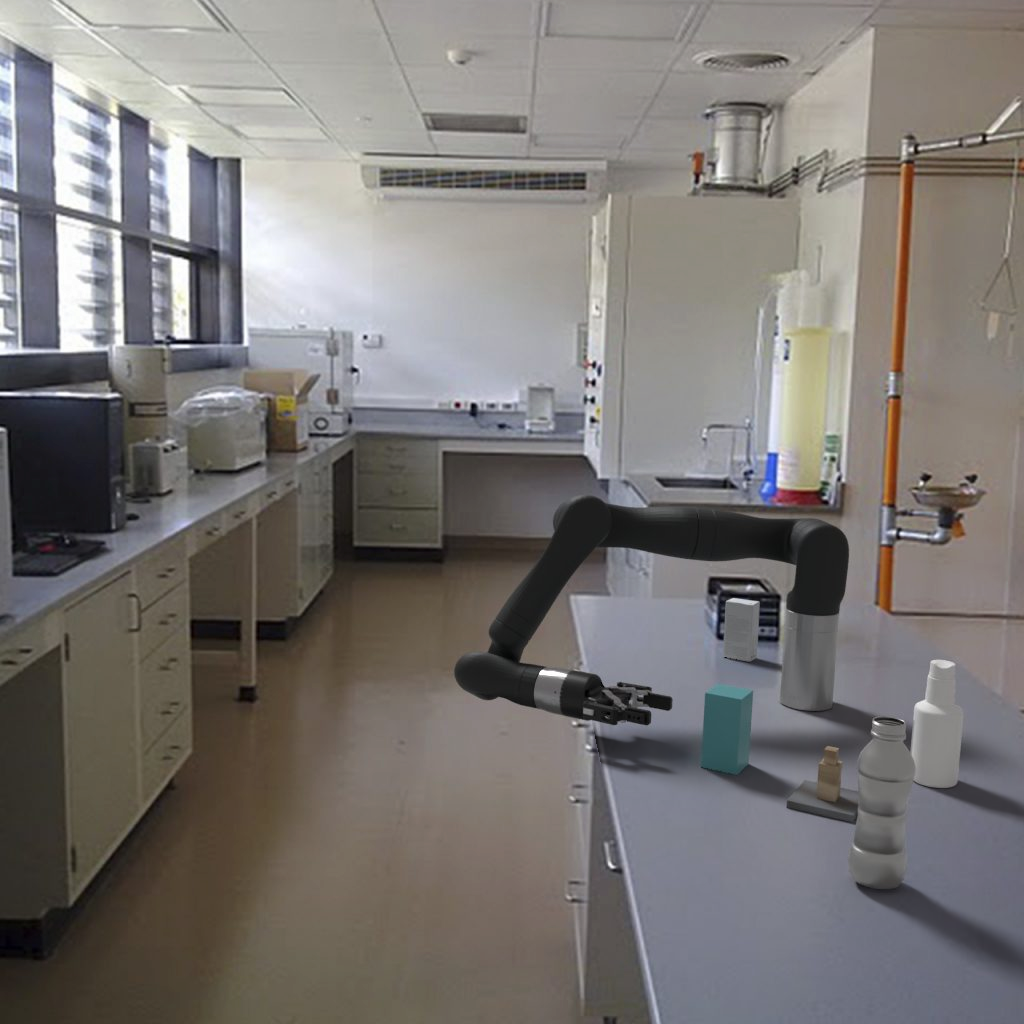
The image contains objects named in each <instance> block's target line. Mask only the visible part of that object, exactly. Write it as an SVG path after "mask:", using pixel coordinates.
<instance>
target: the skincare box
mask: <svg viewBox="0 0 1024 1024" xmlns="http://www.w3.org/2000/svg"><path fill="white" fill-rule="evenodd" d="M760 604H761V603H760V601H758V600H751V599H750V600H749V599H743V598H736V597H732V598H730V599H728V600H726V601H725V610H724V632H723V648H722V649H723V650H722V657H723V658H724V657H727V658H726V659H730V658H731V660H736V659H737V660H738V661H743V662H747V663H749V662H752V661H754V660H756V659H757V657H758V646H759V645H758V642H759V624H760V623H759V622H760V608H761V607H760V606H761V605H760Z"/></svg>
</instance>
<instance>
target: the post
mask: <svg viewBox="0 0 1024 1024" xmlns="http://www.w3.org/2000/svg"><path fill="white" fill-rule="evenodd" d="M839 752H840V748H839V747H836V746H835V747H834V746H830V745H827V746H826V747H825V748H824V750H823V758H822V759H821V760H820V762H819V763H818V770H817V782H815V781H813V780H812V781H811V780H807V779H804V780H803V781H802V783H801V784H800V785H798V787H797V788H796V789H795V790H794V792H793V793H792V794H791V795H790V797H788V799H786V808H789V809H791V810H795V811H801V812H805V813H810V814H814V815H817V816H824V817H827V818H833V819H836V820H840V821H846V822H847V823H848V822H849V823H854V821H855V820H856V819H857V816H858V806H859V805H858V790H855V789H850V788H845V787H844V788H843V787H841V783H842V773H843V761H841V760H839Z"/></svg>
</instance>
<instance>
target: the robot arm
mask: <svg viewBox="0 0 1024 1024" xmlns="http://www.w3.org/2000/svg"><path fill="white" fill-rule="evenodd" d="M552 526H553V527H552V528H553V534H552V535H551V538H550V540H549V542H548V544H547V546H546V547H545V549H544V551H543V552H542V554H541V555H540V557H539V558H538V560H537V561H536V562H535V564H534V566H533V567H532V568H531V569H530V570H529V572H528V573H527V575H525V577H524V578H523V579H522V581H520V583H519V584H518V585H517V586H516V587H515V588H514V591H512V593H511V594H510V596H509V597H508V598H507V600H506V601H505V603H504V604H503V606H502V607H501V609H500V610H499V612H497V615H496V616H495V619H493V621H492V622H491V624H490V626H489V629H488V636H489V638H490V641H491V643H490V645H489V647H488V650H487V652H485V651H478V650H477V651H475V650H474V651H470V652H467V653H465V654H463V655H462V656H460V657H459V659H458V660H457V661H456V663H455V666H454V670H453V673H454V674H453V675H454V679H455V681H456V684H457V685H459V687H460V688H461V689H462V690H464V691H465V692H466V693H469V694H471V695H473V696H474V697H477V698H478V699H481V700H483V701H493V700H495V699H497V698H502V699H505V700H508V701H510V702H511V703H514V704H517V705H519V706H523V707H528V708H533V709H537V710H541V711H544V712H546V713H550V714H554V715H559V716H564V717H568V718H572V719H578V720H581V721H587V722H588V721H595V722H599V723H601V724H602V723H603V724H607V725H612V726H617V725H618V723H621V724H624V723H633V724H638V725H641V726H649V725H650V724H651V723H652V711H651V710H648V709H643V708H651V709H656V710H660V711H661V710H662V711H666V712H667V711H668V712H669V711H671V710H672V708H673V698H672V696H670V695H666V694H665V695H664V694H658V693H653V691H652V690H653V687H652V686H645V685H640V684H635V683H628V682H623V681H619V682H616V685H609V686H607V687H605V685H604V683H603V680H602V678H601V676H599V675H598V674H595V673H590V672H585V671H580V670H574V669H569V668H564V667H563V668H562V667H552V666H544V665H539V664H533V663H526V662H521V659H522V655H523V653H524V650H525V648H526V646H527V645H528V643H530V641H531V639H532V638H533V636H534V635H535V633H537V632H536V631H537V630H538V629H539V627H540V626H541V624H542V622H543V621H544V619H545V618H546V616H547V614H548V613H549V611H550V609H551V608H552V607H553V605H554V603H555V602H556V600H557V599H558V597H559V595H560V594H561V591H562V590H563V589H564V588H565V585H566V584H567V583H568V582H569V580H570V579H571V577H572V576H573V575H574V574H575V572H576V571H577V570H578V568H580V566H581V565H582V563H584V561H585V560H586V559H587V558H588V557H589V556H590V555H591V553H593V552H594V550H595V549H596V548H622V549H629V550H630V549H632V550H637V551H641V552H647V553H650V554H655V555H659V556H660V555H661V556H666V557H671V558H677V559H678V558H679V559H685V560H692V561H701V562H730V561H737V560H746V559H761V560H762V559H763V560H769V561H776V562H781V563H785V564H790V565H794V566H795V576H794V585H793V587H792V589H791V590H790V591H788V593H787V595H786V603H785V617H784V618H785V620H784V630H783V631H784V632H783V633H784V635H783V636H784V637H783V645H782V647H783V649H782V650H783V651H782V660H781V661H782V663H781V677H780V678H781V679H780V691H779V702H780V703H781V704H783V705H784V706H786V707H788V708H790V709H796V710H801V711H807V712H808V711H810V712H811V711H812V712H815V711H816V712H820V711H826V710H830V709H832V707H833V705H834V704H833V701H834V688H835V681H836V680H835V679H836V678H835V677H836V666H837V665H836V664H837V652H838V651H837V650H838V638H839V637H838V635H839V623H840V620H839V619H840V613H841V612H840V609H841V603H842V601H843V599H844V597H845V594H846V589H847V579H848V570H849V563H850V562H849V561H850V546H849V541H848V538H847V536H846V534H845V532H844V531H842V529H840V528H839V527H838V526H836V525H834V524H831V523H829V522H826V521H824V520H821V519H818V518H812V517H811V518H809V517H808V518H807V517H806V518H805V517H804V518H771V517H770V518H769V517H767V518H766V517H757V516H753V515H747V514H745V513H738V512H732V511H728V510H727V511H726V510H719V509H715V508H705V507H698V506H696V507H695V506H681V505H680V506H678V505H677V506H676V505H675V506H671V505H669V506H668V505H667V506H665V505H664V506H648V507H647V506H646V507H643V506H642V507H633V506H632V507H631V506H624V505H618V504H612V503H608V502H605V501H603V500H602V499H601V498H600V497H597V496H595V495H591V494H580V495H575V496H572V497H570V498H567V499H566V500H564V501H563V502H561V504H560V505H559V506H558V507H557V509H556V510H555V512H554V514H553V517H552ZM641 696H642V697H641Z"/></svg>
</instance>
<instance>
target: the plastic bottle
mask: <svg viewBox="0 0 1024 1024" xmlns="http://www.w3.org/2000/svg"><path fill="white" fill-rule="evenodd" d="M871 722H872V723H871V724H872V725H871V726H872V728H871V729H870V735H871V737H872V739H871V740H870V741H869V742H868V743H867V744H866V745H865V746H864V747H863V749H862V750H861V751H860V753H859V755H858V758H857V760H856V769H857V771H856V775H857V787H858V788H857V789H858V790H857V791H858V805H859V806H858V815H857V817H856V824H855V829H854V833H853V840H852V842H851V845H850V848H849V851H848V857H847V862H848V863H847V864H848V872H849V874H850V876H851V878H853V880H854V881H855V882H856V883H858V884H859V885H862V886H864V887H866V888H870V889H876V890H891V889H895V888H897V887H899V886H900V884H901V883H903V881H904V880H905V876H906V873H907V870H908V860H907V859H908V858H907V857H908V856H907V851H906V820H907V812H908V806H909V799H910V796H911V792H912V788H913V784H914V781H913V780H914V777H915V771H916V767H915V762H914V759H913V757H912V755H911V754H910V752H911V751H910V750H909V749H908V747H907V746H906V744H905V743H904V741H906V739H907V733H906V730H907V724H906V721H905V720H903V719H901V718H898V717H894V716H893V717H892V716H875V717H873V718H872V721H871Z"/></svg>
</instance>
